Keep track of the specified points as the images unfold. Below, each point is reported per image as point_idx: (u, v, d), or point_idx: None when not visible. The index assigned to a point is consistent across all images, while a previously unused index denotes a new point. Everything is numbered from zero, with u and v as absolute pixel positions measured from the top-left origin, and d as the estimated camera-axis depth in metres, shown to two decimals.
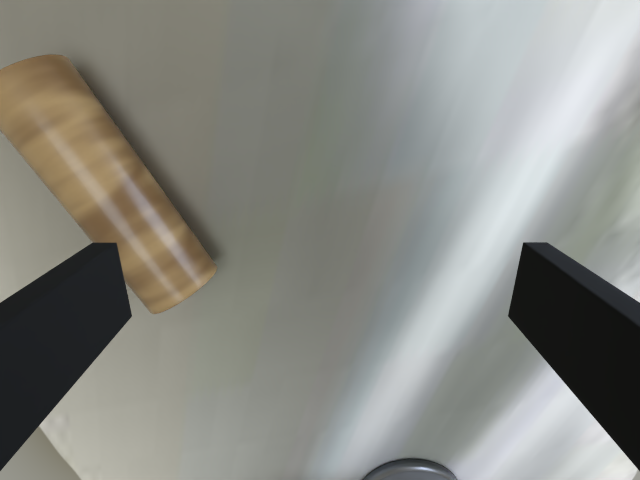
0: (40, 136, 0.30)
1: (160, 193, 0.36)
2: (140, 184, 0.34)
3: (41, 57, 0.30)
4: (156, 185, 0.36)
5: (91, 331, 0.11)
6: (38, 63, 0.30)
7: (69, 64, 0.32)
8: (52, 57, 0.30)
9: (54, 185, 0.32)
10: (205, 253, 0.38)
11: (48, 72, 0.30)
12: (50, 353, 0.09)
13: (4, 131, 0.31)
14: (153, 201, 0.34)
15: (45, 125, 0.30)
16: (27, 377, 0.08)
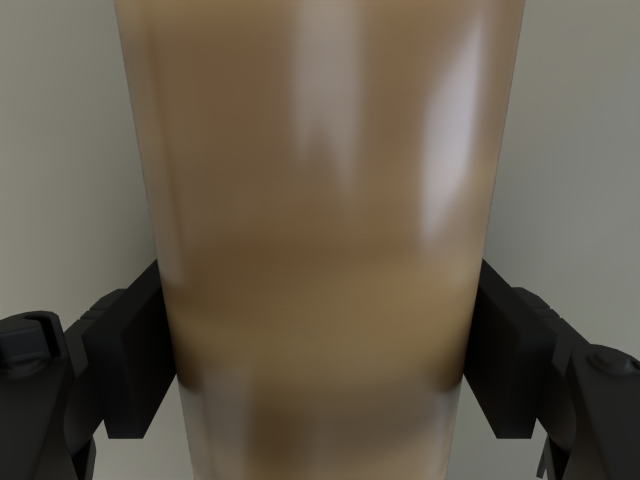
0: None
1: None
2: (519, 35, 0.07)
3: None
4: None
5: None
6: None
7: None
8: None
9: None
10: None
11: None
12: None
13: None
14: (501, 137, 0.08)
15: None
16: (169, 335, 0.10)
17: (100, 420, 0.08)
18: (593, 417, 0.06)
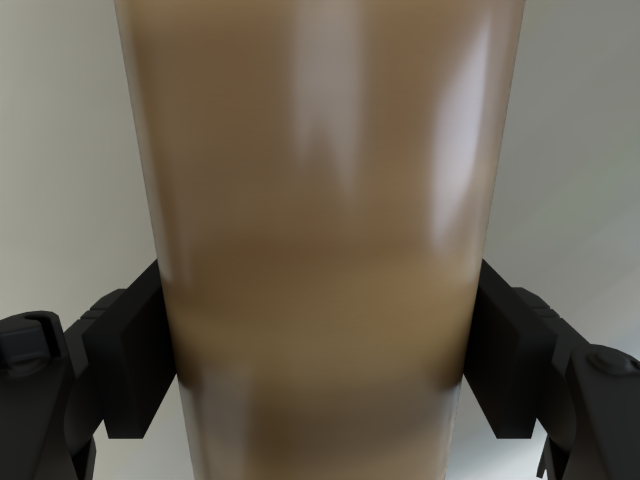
0: None
1: None
2: (519, 34, 0.07)
3: None
4: None
5: None
6: None
7: None
8: None
9: None
10: None
11: None
12: None
13: None
14: (501, 136, 0.08)
15: None
16: (169, 335, 0.10)
17: (99, 420, 0.08)
18: (593, 417, 0.06)
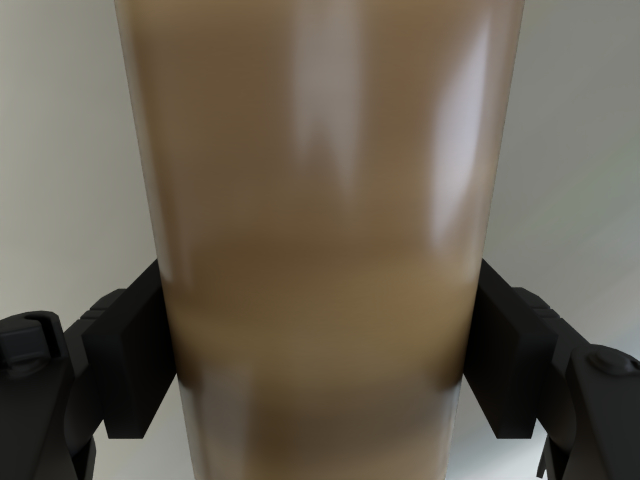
0: None
1: None
2: None
3: None
4: None
5: None
6: None
7: None
8: None
9: None
10: None
11: None
12: None
13: None
14: (501, 135, 0.08)
15: None
16: (169, 335, 0.10)
17: (99, 421, 0.08)
18: (593, 417, 0.06)
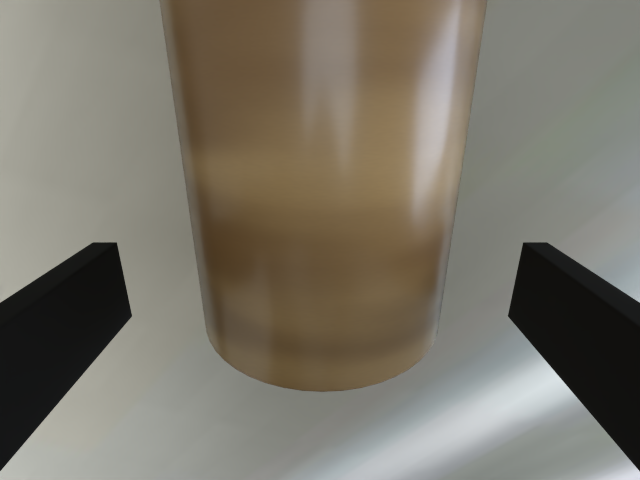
0: None
1: None
2: None
3: None
4: None
5: (91, 331, 0.11)
6: None
7: None
8: None
9: None
10: None
11: None
12: (51, 353, 0.09)
13: None
14: None
15: None
16: (27, 377, 0.08)
17: None
18: None
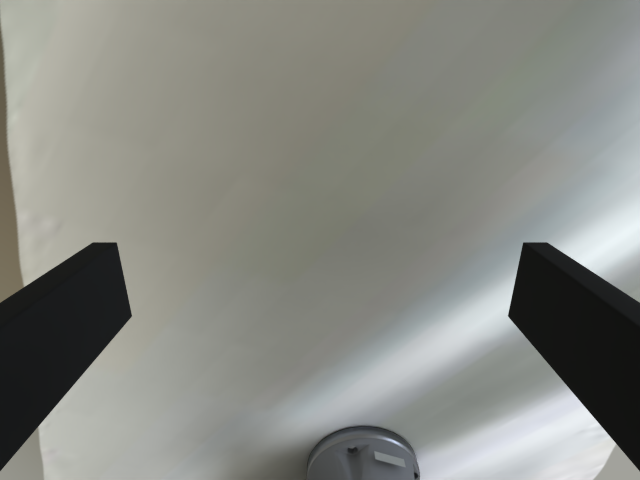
0: None
1: None
2: None
3: None
4: None
5: (91, 331, 0.11)
6: None
7: None
8: None
9: None
10: None
11: None
12: (50, 353, 0.09)
13: None
14: None
15: None
16: (27, 377, 0.08)
17: None
18: None
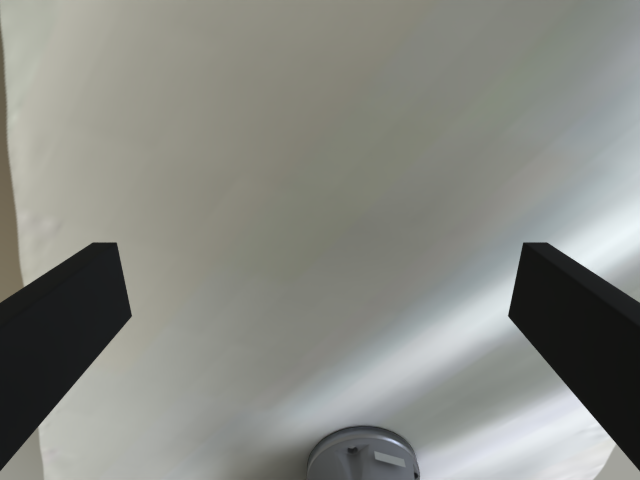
0: None
1: None
2: None
3: None
4: None
5: (91, 331, 0.11)
6: None
7: None
8: None
9: None
10: None
11: None
12: (50, 353, 0.09)
13: None
14: None
15: None
16: (27, 377, 0.08)
17: None
18: None
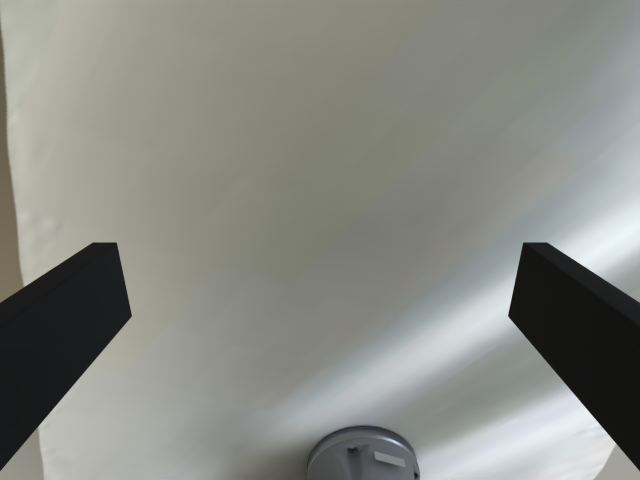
0: None
1: None
2: None
3: None
4: None
5: (91, 331, 0.11)
6: None
7: None
8: None
9: None
10: None
11: None
12: (50, 353, 0.09)
13: None
14: None
15: None
16: (27, 377, 0.08)
17: None
18: None
